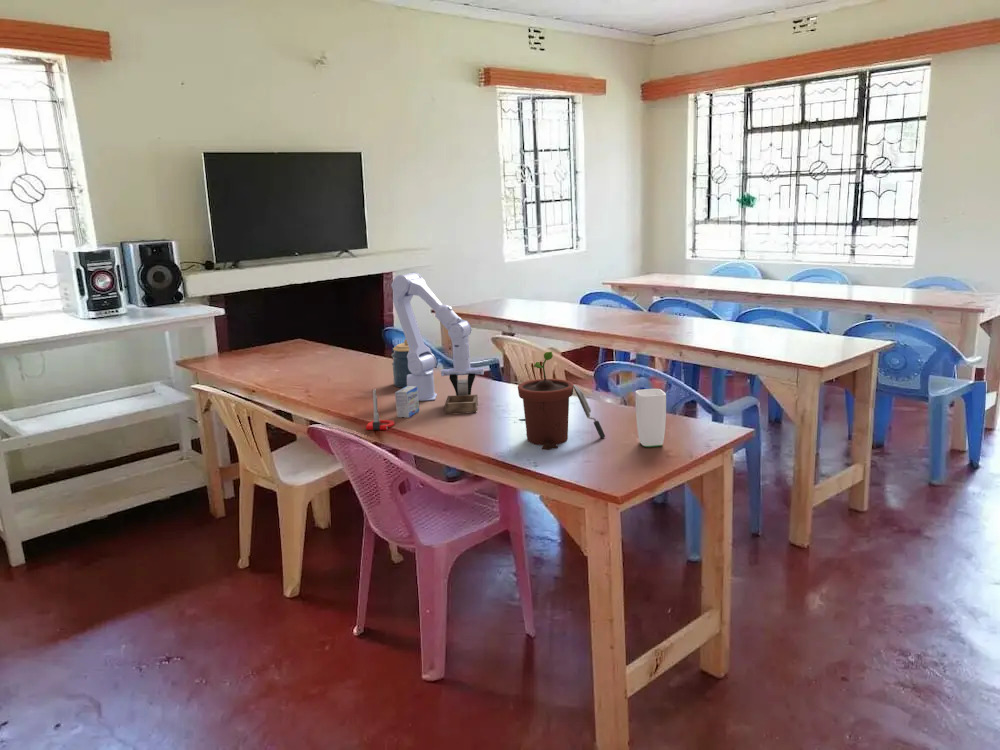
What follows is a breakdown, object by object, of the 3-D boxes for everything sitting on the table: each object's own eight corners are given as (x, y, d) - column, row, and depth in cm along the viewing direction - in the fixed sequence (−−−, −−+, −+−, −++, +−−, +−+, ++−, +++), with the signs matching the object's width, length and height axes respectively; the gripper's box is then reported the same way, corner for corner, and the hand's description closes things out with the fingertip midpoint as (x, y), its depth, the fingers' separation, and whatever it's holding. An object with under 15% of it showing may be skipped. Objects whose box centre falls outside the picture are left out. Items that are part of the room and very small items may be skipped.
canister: (399, 390, 290) (395, 343, 286) (389, 383, 302) (385, 338, 298) (432, 385, 295) (429, 339, 291) (421, 378, 307) (418, 334, 303)
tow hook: (372, 423, 251) (363, 430, 242) (369, 383, 249) (360, 389, 240) (397, 423, 250) (389, 430, 241) (395, 383, 247) (386, 389, 238)
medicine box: (409, 418, 253) (406, 392, 251) (396, 417, 254) (394, 391, 252) (419, 411, 260) (417, 386, 258) (407, 410, 262) (405, 385, 260)
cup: (667, 447, 212) (667, 394, 209) (641, 449, 212) (640, 396, 208) (660, 439, 219) (660, 388, 216) (634, 441, 219) (634, 389, 215)
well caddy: (445, 414, 255) (445, 403, 255) (448, 405, 265) (447, 395, 264) (476, 412, 255) (475, 402, 254) (478, 404, 265) (477, 394, 264)
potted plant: (544, 426, 237) (541, 345, 231) (606, 437, 223) (604, 352, 218) (508, 442, 224) (503, 357, 218) (571, 455, 210) (568, 364, 204)
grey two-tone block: (458, 402, 267) (457, 383, 265) (459, 399, 272) (458, 379, 270) (468, 402, 267) (467, 382, 265) (469, 398, 272) (468, 379, 270)
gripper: (438, 360, 262) (441, 399, 265) (482, 358, 261) (484, 397, 265) (441, 355, 269) (443, 393, 272) (483, 354, 268) (485, 392, 271)
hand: (463, 395), depth 269 cm, fingers closed on grey two-tone block, 3 cm apart
